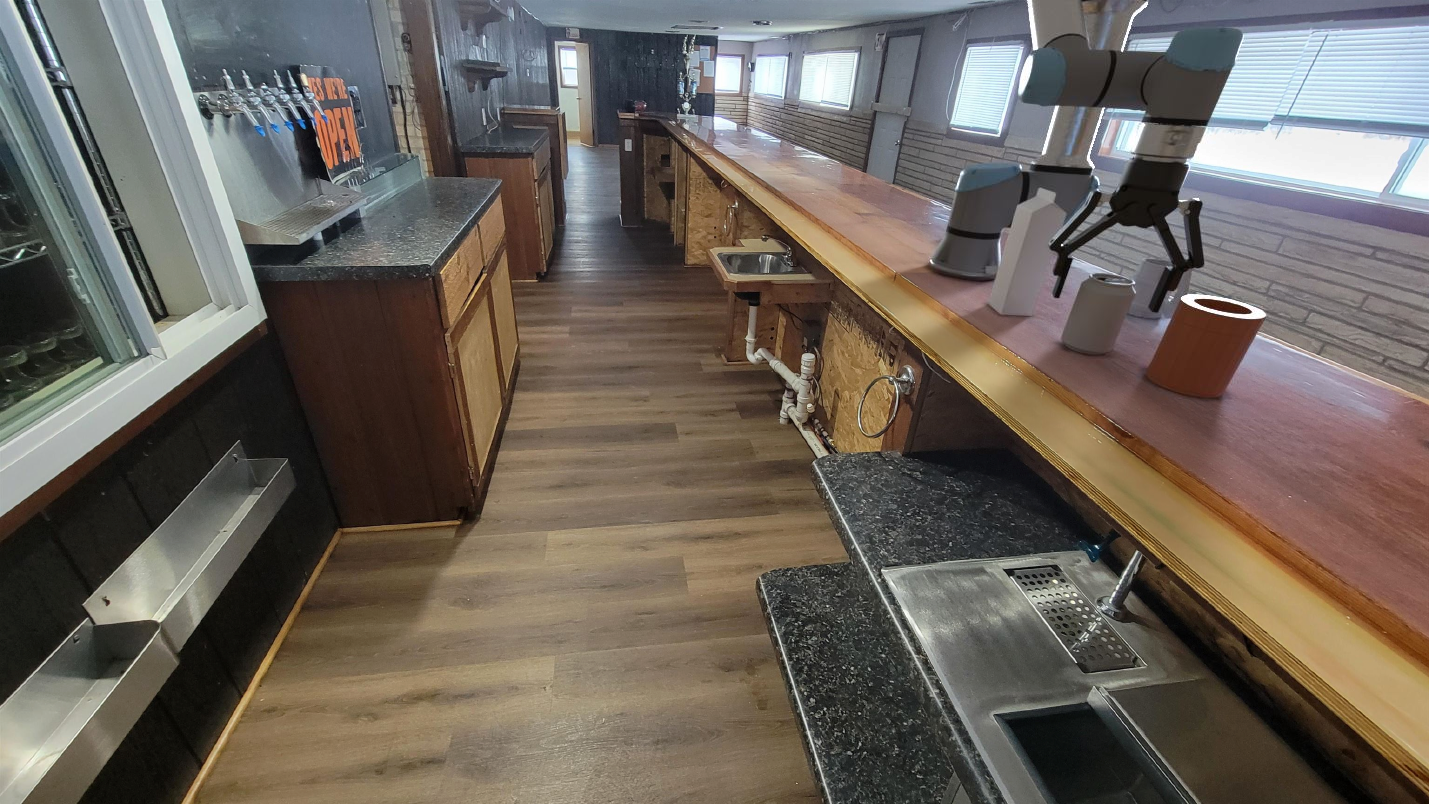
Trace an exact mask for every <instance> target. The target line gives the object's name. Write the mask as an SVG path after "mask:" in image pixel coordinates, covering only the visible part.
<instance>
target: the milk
mask: <svg viewBox="0 0 1429 804" xmlns="http://www.w3.org/2000/svg"><path fill="white" fill-rule="evenodd" d="M1055 197H1056V193H1055V192H1052V191H1049V190H1046V189H1043V188H1039V189H1038V192H1037V195H1036V196H1035V197H1033V198H1031V199H1029V200H1027V201H1025V202H1023V203H1021V204H1019V205H1017V208H1016V211H1015V215H1014V218H1013V221H1012V225H1011V228H1009V231H1008V235H1007V239H1006V242H1005V246H1004V248H1003V252H1002V256H1001V262H1000V265H999V269H998V272H997V275H996V278H995V279H994V283H993V286H992V289H991V293H990V296H989V300H988V302H987V304H988V305H989V306H990V308H992V309H994V310H995V311H996V312H997V313H998V314H1000V315H1001V316H1024V317H1032V316H1033V314H1034V311H1035V307H1036V305H1037V302H1038V299H1039V296H1040V293H1041V291H1042V287H1043V284H1044V283H1045V278H1046V275H1047V273H1048V270H1049V267H1050V263H1051V261H1052V258H1053V255H1054V251H1052V250H1050V248H1049V246H1048V243H1049V241H1050V240H1051V239H1052V238H1053V237H1054V236H1055V235H1056V234H1057V233H1058V232H1059V231H1060V230H1061V229H1062V226H1063V223H1064V220H1065V217H1066V214H1067V213H1066V212H1065V211H1063V210H1062V209H1061V208H1060V207H1059V206H1057V205H1056V204H1055V203H1054V200H1055Z"/></svg>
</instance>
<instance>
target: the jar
mask: <svg viewBox="0 0 1429 804" xmlns="http://www.w3.org/2000/svg"><path fill="white" fill-rule="evenodd" d="M1266 318H1267V313H1266V312H1265V311H1264V310H1262V309H1260V308H1258V307H1256V306H1253V305H1251V304H1248V303H1244V302H1241V301H1237V300H1235V299H1230V298H1224V297H1219V296H1212V295H1204V294H1187V295H1186V296H1182V297H1181V299H1180V301H1179V303H1178V305H1177V308H1176V310H1175V312H1174V314H1173V316H1172V318H1170V319H1169V320H1170V321H1169V322H1168V325H1167V326H1166V329H1165V331H1164V333H1163V335H1162V338H1161V340H1160V341H1159V343H1158V345H1157V348H1156V350H1155V352H1154V354H1153V356H1152V358H1151V360H1150V363H1149V365H1148V367H1147V370H1146V372H1145V376H1146V377H1147V379H1149V380H1150V381H1151V382H1152V383H1154V384H1156V385H1158V386H1159V387H1162V388H1163V389H1166V390H1168V391H1171V392H1175V393H1178V394H1181V395H1185V396H1188V397H1189V396H1190V397H1194V398H1195V397H1196V398H1202V399H1214V398H1219V397H1221V396H1223V394H1224V393H1225V392H1226V390H1227V387H1228V386H1229V385H1230V383H1231V381H1232V379H1233V377H1234V376H1235V374H1236V372H1237V370H1238V368H1239V367H1240V365H1241V363H1242V361H1243V360H1244V358H1245V356H1246V354H1247V353H1248V350H1249V349H1250V347H1251V345H1252V343H1253V341H1254V340H1255V338H1256V336H1257V334H1258V333H1259V331H1260V330H1261V327H1262V325H1263V324H1264V322H1265V320H1266Z"/></svg>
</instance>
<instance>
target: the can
mask: <svg viewBox="0 0 1429 804" xmlns="http://www.w3.org/2000/svg"><path fill="white" fill-rule="evenodd" d="M1134 284H1135V282H1134V281H1133V280H1132V278H1128V277H1126V276H1123V275H1118V274H1114V273H1107V272H1092V273H1089V275H1088V278H1087V279H1085V280H1083V281H1081V283H1080V286H1079V288H1078V291H1077V293H1076V296H1075V299H1074V302H1073V304H1072V307H1071V310H1070V312H1069V316H1068V318H1067V319H1066V322H1065V326H1064V328H1063V330H1062V333H1061V337H1060V339H1061V341H1062V342H1063V343H1064V345H1065V346H1066V347H1067V348H1068V349H1070V350H1072V351H1075V352H1077V353H1081V354H1085V355H1093V356H1099V355H1104V354H1106V353H1108V352H1110V351H1112V350H1113V348H1114V345H1115V343H1116V340H1117V338H1118V336H1119V335H1120V331H1121V329H1122V326H1123V325H1124V322H1125V319H1126V317H1127V315H1128V310H1129V308H1130V306H1131V303H1132V301H1133V299H1134V296H1135V294H1136V292H1135V290H1134V288H1133V285H1134Z"/></svg>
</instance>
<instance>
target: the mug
mask: <svg viewBox="0 0 1429 804" xmlns="http://www.w3.org/2000/svg"><path fill="white" fill-rule="evenodd" d="M1166 266H1168V267H1173V264H1172V262H1171V260H1168V259H1164V258H1151V257H1144V258H1141V260H1140V263H1139V265H1138V267H1137V269H1136V271H1135V272H1133V274H1131V277H1130V279H1131V280H1133V281H1134V282H1135V284H1134V285H1133V288H1134V290H1135V292H1136V294H1135V296H1134V299H1133V301H1132V303H1131V306H1130V308H1129V310H1128V313H1127V315H1131V316H1134V317H1138V318H1144V319H1151V320H1153V319H1159V318H1162V316H1163V318H1164V319H1166V320H1171V318H1172V316H1173V314H1174V312H1175V310H1176V308H1177V305H1178V303H1179V301H1180V299H1181V297H1182V296H1186V295H1188V293H1189V291H1190V285H1191V278H1192V275H1193V269H1189V270H1188V271H1186V272H1184V273H1183V276H1182V278H1181V280H1180V282H1179V284H1178V287H1177V289H1176V292H1175V293H1174V295H1173V298H1172V299H1170V297H1171V295H1172V292H1173V291H1167V294H1166V296H1165V298H1164V300H1163V303H1162V305H1161V307H1160V309H1159V312H1158V313H1155V312H1152V311H1151V310H1150V309H1149V308H1148V305H1149V303H1150V301H1151V299H1152V296H1153V294H1154V292H1155V289H1156V287H1157V285H1158V283H1159V280H1160V278H1161V276H1162V273H1163V271H1164V269H1165V267H1166ZM1169 299H1170V300H1169Z"/></svg>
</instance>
